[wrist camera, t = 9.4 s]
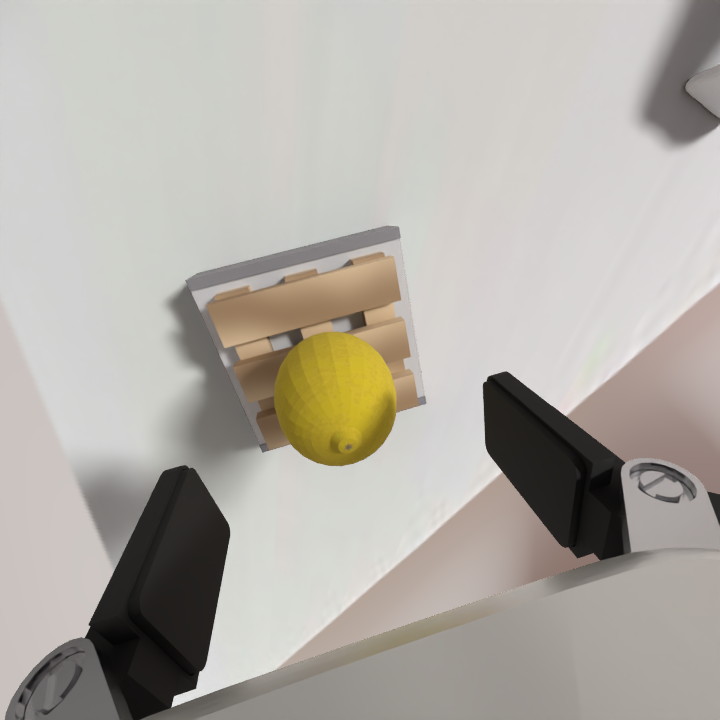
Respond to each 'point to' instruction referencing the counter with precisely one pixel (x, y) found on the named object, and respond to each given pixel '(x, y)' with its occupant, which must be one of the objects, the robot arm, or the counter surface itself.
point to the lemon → (335, 398)
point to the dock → (274, 272)
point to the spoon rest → (706, 89)
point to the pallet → (312, 327)
